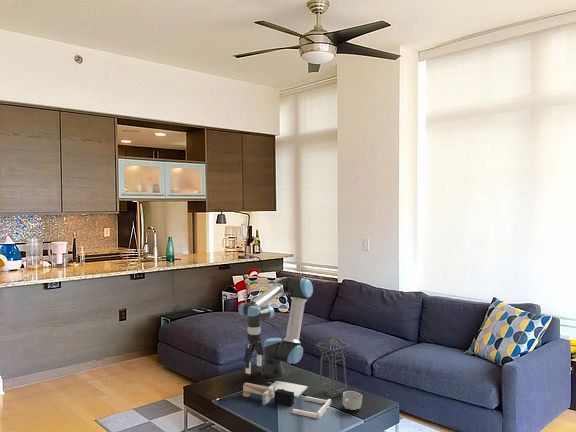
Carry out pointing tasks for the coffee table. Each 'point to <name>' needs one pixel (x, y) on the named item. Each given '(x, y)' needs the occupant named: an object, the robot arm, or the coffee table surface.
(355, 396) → the teacup
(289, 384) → the rest board
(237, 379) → the coffee table surface
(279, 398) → the digital camera
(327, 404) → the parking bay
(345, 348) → the geometric lantern
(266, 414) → the coffee table surface
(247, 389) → the beige piece
